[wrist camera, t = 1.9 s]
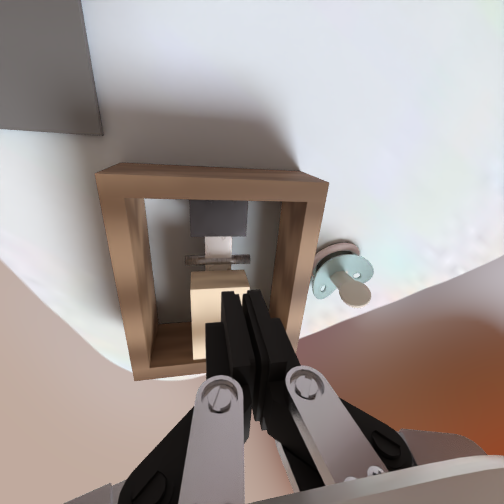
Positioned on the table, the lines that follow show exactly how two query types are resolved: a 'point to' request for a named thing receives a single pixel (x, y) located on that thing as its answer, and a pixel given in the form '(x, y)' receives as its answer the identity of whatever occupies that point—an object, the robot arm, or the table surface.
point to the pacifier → (343, 275)
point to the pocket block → (202, 188)
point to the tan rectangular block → (211, 301)
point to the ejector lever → (218, 232)
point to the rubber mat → (46, 68)
